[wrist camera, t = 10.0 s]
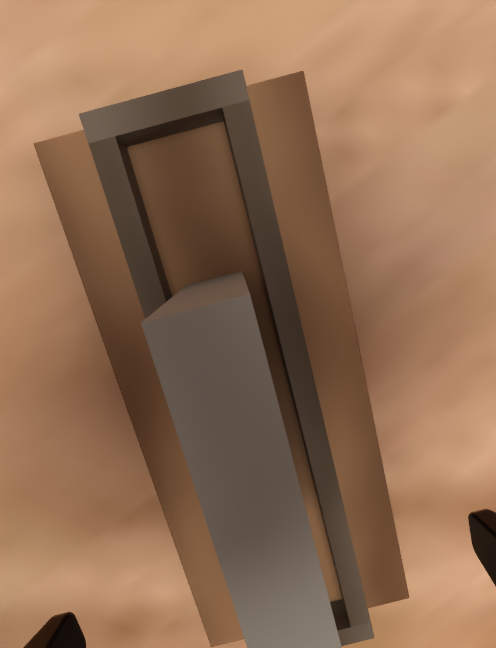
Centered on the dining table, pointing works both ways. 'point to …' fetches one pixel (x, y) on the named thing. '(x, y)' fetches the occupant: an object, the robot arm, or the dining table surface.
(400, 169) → the dining table surface
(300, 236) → the track board
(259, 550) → the door panel
